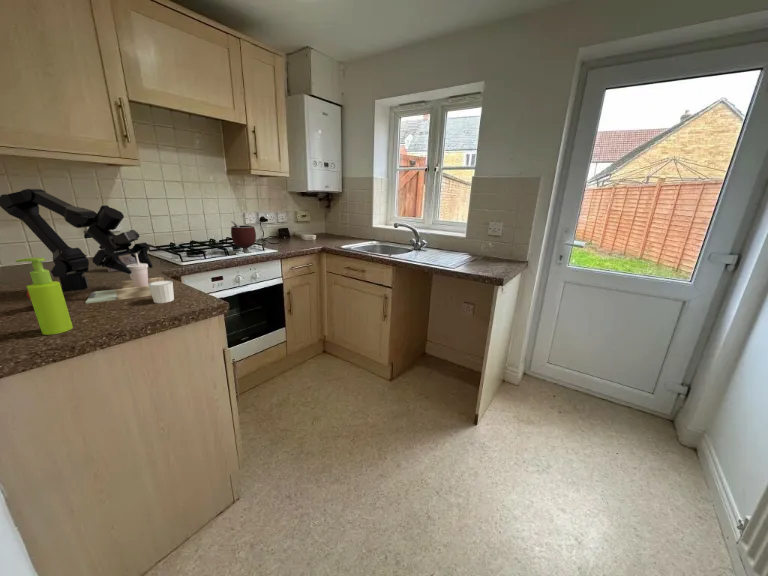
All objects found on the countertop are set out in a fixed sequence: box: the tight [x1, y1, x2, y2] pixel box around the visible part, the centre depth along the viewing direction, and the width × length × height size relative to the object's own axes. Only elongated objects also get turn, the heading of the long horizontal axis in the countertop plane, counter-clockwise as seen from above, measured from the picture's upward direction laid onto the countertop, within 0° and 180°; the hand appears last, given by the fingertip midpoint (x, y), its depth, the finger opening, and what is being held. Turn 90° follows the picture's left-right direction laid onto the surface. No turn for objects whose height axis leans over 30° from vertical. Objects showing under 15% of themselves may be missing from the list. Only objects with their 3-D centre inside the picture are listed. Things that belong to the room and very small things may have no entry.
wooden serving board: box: [116, 276, 165, 300], centre depth 115 cm, size 13×13×4 cm
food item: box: [106, 255, 140, 273], centre depth 148 cm, size 14×8×10 cm, turn 120°
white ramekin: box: [148, 279, 175, 304], centre depth 106 cm, size 7×7×7 cm
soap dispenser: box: [15, 257, 74, 336], centre depth 81 cm, size 6×7×20 cm
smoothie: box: [127, 253, 149, 287], centre depth 113 cm, size 6×6×14 cm
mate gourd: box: [230, 220, 257, 253], centre depth 191 cm, size 16×14×20 cm
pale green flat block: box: [85, 288, 118, 304], centre depth 109 cm, size 8×13×2 cm, turn 32°
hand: (141, 270), depth 112 cm, fingers open, 9 cm apart
